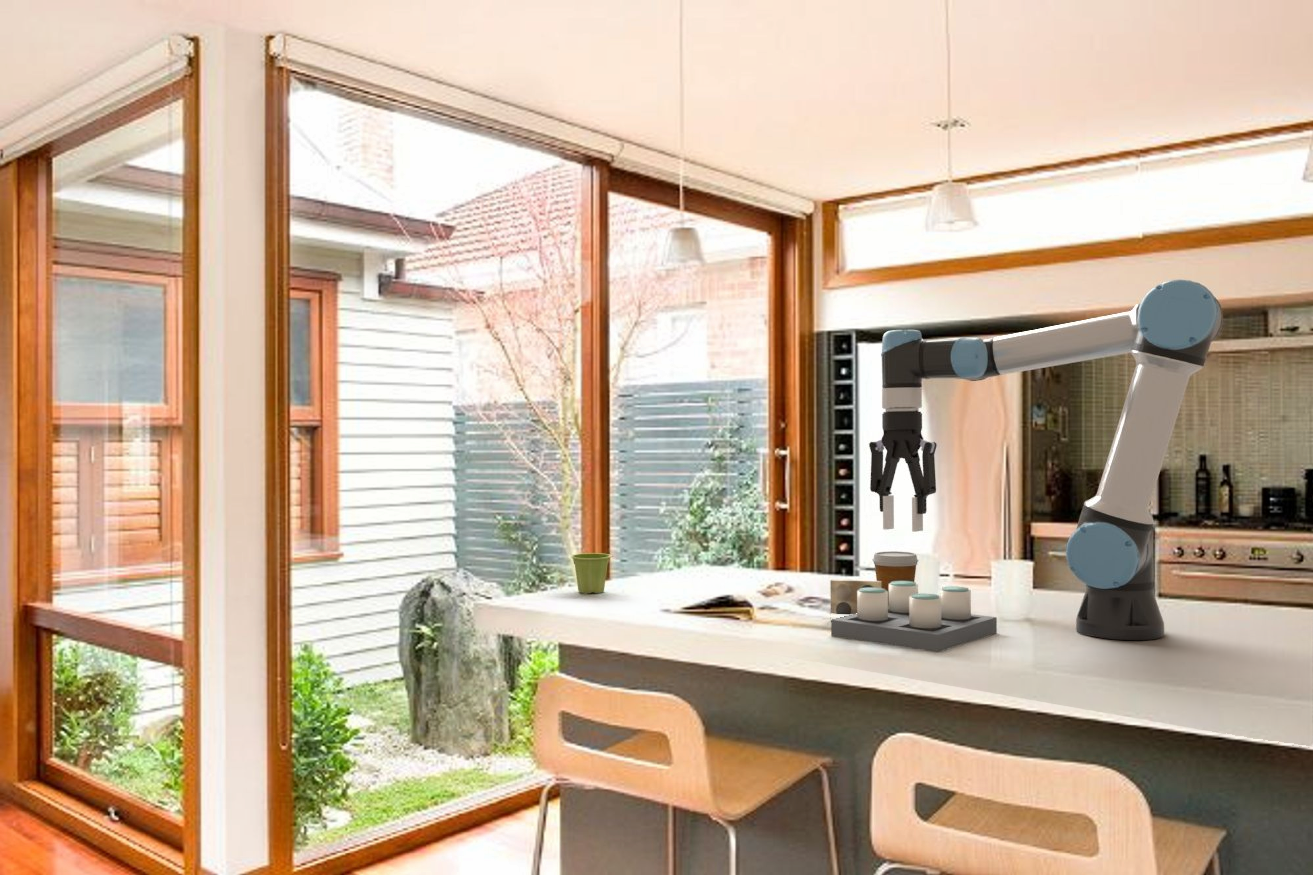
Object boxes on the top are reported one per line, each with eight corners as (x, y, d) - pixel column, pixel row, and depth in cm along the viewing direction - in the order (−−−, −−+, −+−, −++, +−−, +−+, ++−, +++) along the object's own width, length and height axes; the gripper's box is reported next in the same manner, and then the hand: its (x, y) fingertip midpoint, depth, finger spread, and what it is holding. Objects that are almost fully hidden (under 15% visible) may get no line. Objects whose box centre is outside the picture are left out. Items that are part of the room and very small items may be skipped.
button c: (947, 624, 194) (947, 595, 194) (931, 629, 190) (931, 599, 190) (919, 621, 198) (919, 592, 198) (903, 625, 194) (903, 595, 194)
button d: (893, 617, 202) (893, 589, 202) (877, 621, 198) (877, 592, 198) (867, 614, 206) (867, 586, 206) (851, 618, 202) (851, 589, 202)
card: (881, 620, 216) (881, 581, 216) (881, 622, 215) (881, 581, 215) (831, 619, 218) (830, 579, 218) (830, 620, 217) (830, 580, 217)
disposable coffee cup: (919, 615, 222) (919, 556, 222) (872, 614, 224) (872, 556, 224) (918, 607, 231) (917, 551, 231) (872, 606, 233) (872, 550, 233)
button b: (923, 609, 210) (923, 582, 210) (908, 613, 206) (908, 585, 206) (898, 606, 214) (898, 579, 214) (883, 610, 210) (883, 582, 210)
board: (996, 633, 203) (996, 617, 202) (937, 652, 187) (937, 634, 187) (893, 619, 218) (893, 604, 218) (831, 635, 202) (831, 619, 202)
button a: (976, 616, 202) (976, 587, 202) (961, 620, 198) (961, 591, 198) (949, 613, 206) (948, 585, 206) (934, 617, 202) (934, 588, 202)
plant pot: (618, 590, 259) (618, 554, 259) (596, 596, 251) (595, 558, 251) (587, 587, 264) (586, 552, 264) (563, 593, 256) (563, 556, 256)
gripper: (955, 409, 206) (956, 531, 206) (871, 411, 218) (871, 525, 219) (935, 409, 200) (936, 534, 200) (850, 411, 213) (851, 528, 213)
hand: (902, 529), depth 210 cm, fingers open, 6 cm apart
